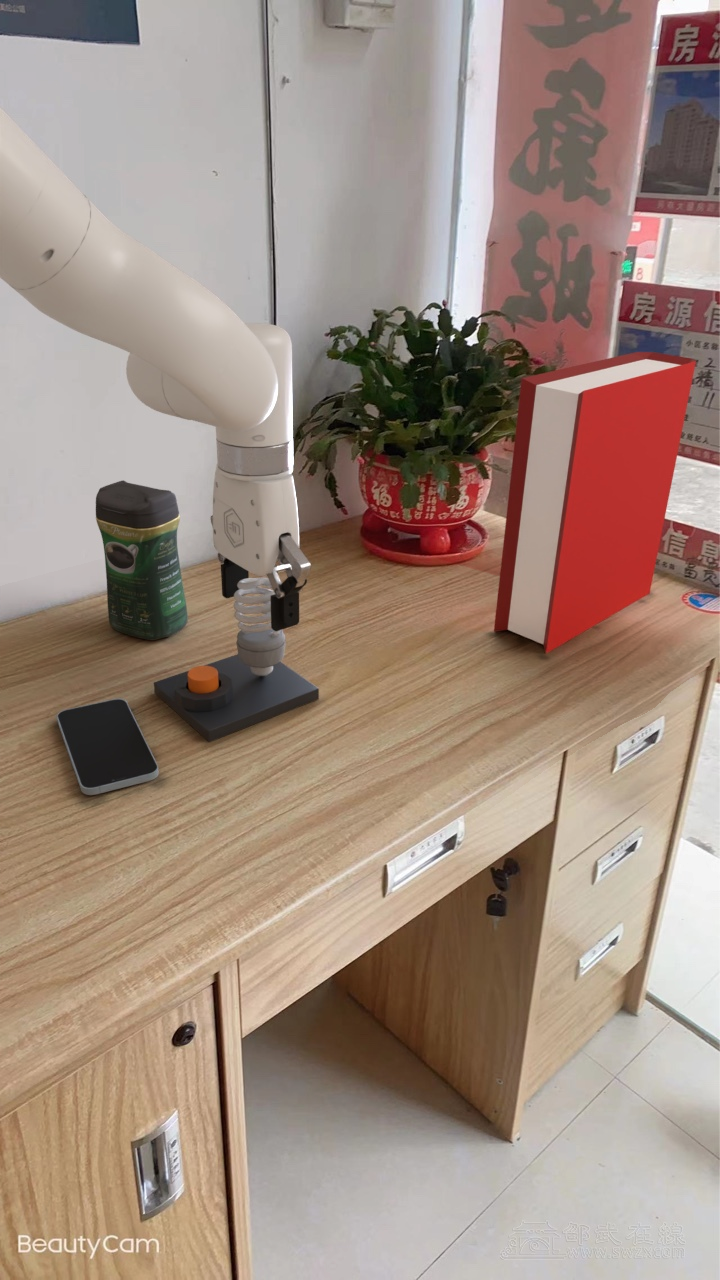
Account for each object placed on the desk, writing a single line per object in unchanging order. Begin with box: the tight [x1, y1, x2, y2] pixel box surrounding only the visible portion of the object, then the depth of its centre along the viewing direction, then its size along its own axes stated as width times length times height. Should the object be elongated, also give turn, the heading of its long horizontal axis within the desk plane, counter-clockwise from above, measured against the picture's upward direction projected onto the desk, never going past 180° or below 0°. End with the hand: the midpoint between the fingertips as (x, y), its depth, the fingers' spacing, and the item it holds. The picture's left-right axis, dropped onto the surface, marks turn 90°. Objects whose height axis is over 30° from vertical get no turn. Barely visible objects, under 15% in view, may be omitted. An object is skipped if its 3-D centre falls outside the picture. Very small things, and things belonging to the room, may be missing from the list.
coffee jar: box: [95, 480, 189, 641], centre depth 108 cm, size 10×8×19 cm
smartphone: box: [56, 698, 160, 796], centre depth 89 cm, size 7×1×15 cm
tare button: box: [188, 665, 219, 694], centre depth 94 cm, size 3×3×2 cm
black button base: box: [153, 653, 320, 743], centre depth 98 cm, size 14×12×3 cm
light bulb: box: [233, 576, 286, 677], centre depth 97 cm, size 6×6×12 cm
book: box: [493, 351, 697, 654], centre depth 112 cm, size 27×8×32 cm, turn 135°
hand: (259, 610), depth 96 cm, fingers open, 9 cm apart
